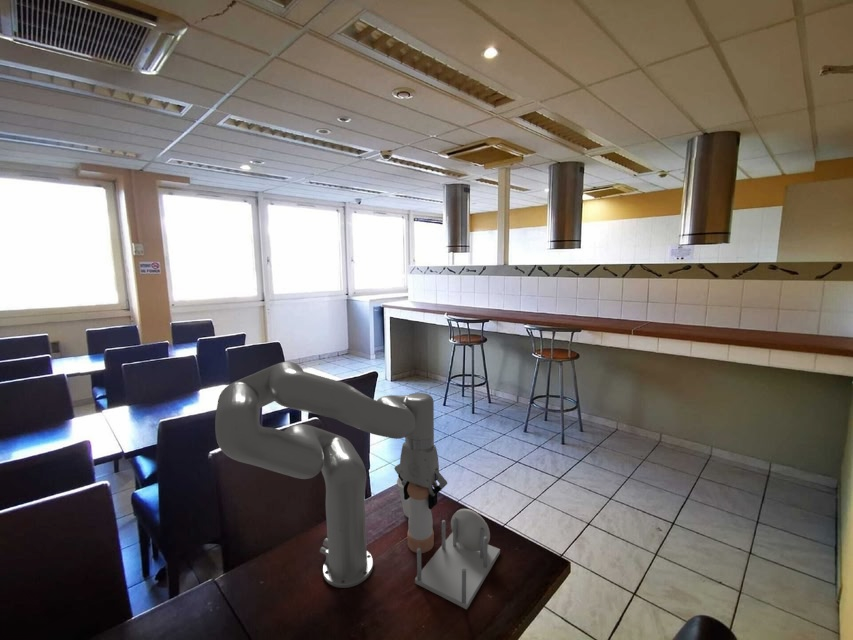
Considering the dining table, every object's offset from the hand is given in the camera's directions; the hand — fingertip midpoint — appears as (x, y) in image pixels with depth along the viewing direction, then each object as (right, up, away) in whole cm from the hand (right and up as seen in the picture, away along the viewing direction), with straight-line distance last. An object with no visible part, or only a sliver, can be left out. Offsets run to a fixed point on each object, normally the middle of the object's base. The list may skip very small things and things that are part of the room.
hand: (420, 501), depth 108 cm
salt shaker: (0, -13, +2) cm, 13 cm away
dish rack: (+10, -14, -6) cm, 18 cm away
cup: (-2, -11, +15) cm, 19 cm away
